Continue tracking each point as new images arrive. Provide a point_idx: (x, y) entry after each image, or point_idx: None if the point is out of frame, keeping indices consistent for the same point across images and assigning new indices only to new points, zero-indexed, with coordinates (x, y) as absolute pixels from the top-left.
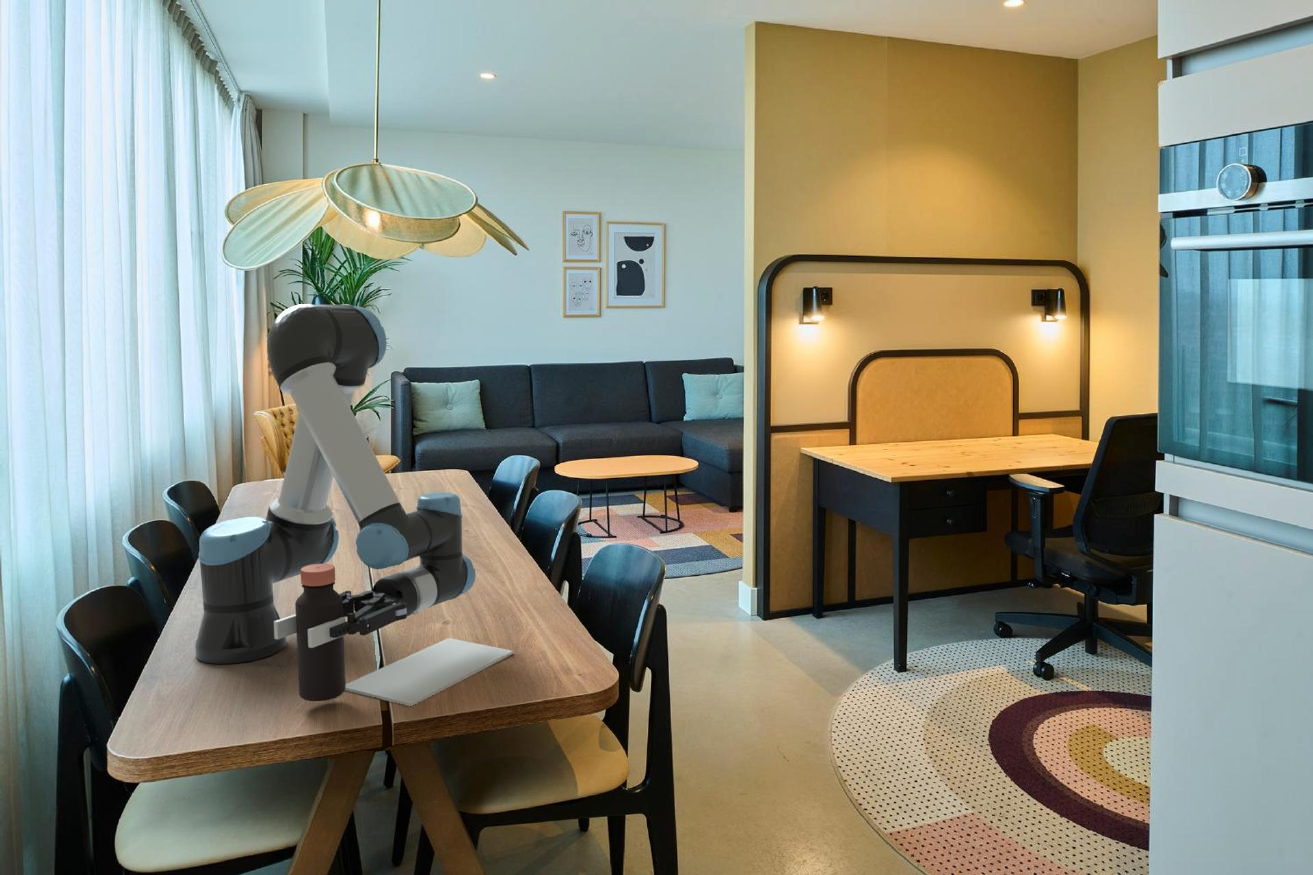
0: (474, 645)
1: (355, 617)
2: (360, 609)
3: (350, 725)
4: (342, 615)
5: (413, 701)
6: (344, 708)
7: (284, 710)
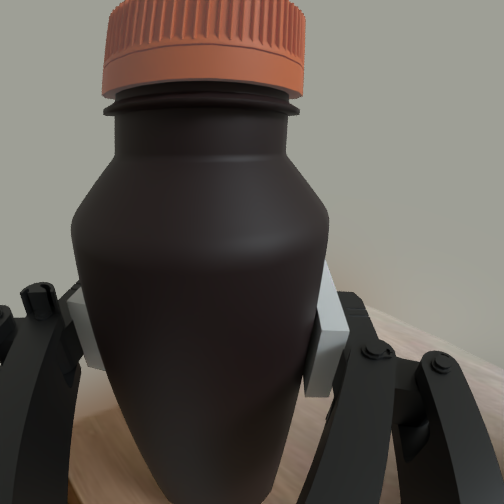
0: None
1: (26, 321)
2: (23, 433)
3: (100, 419)
4: (88, 314)
5: None
6: (156, 483)
7: None
